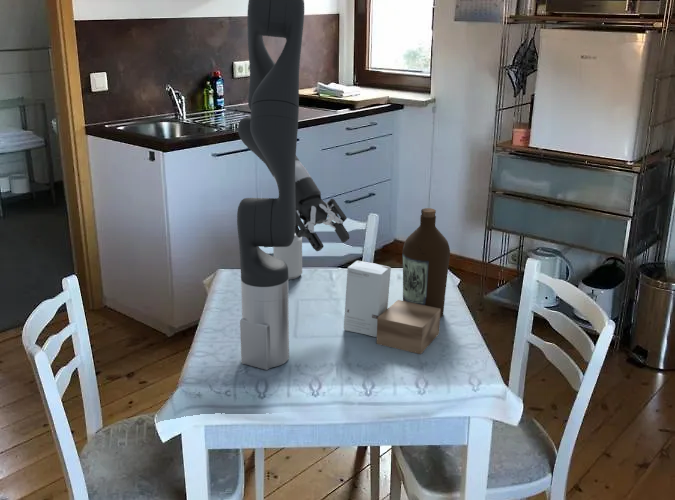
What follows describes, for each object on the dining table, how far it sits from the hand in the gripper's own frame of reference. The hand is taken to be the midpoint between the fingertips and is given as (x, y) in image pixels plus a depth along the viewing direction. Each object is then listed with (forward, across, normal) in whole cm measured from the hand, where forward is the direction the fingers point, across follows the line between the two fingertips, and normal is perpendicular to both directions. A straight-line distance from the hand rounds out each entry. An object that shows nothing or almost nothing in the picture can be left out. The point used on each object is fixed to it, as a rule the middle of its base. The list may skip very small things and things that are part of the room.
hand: (333, 244), depth 163 cm
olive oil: (+22, +16, +2) cm, 27 cm away
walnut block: (+26, +2, -2) cm, 26 cm away
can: (-6, +11, +31) cm, 33 cm away
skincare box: (+19, 0, +5) cm, 20 cm away
